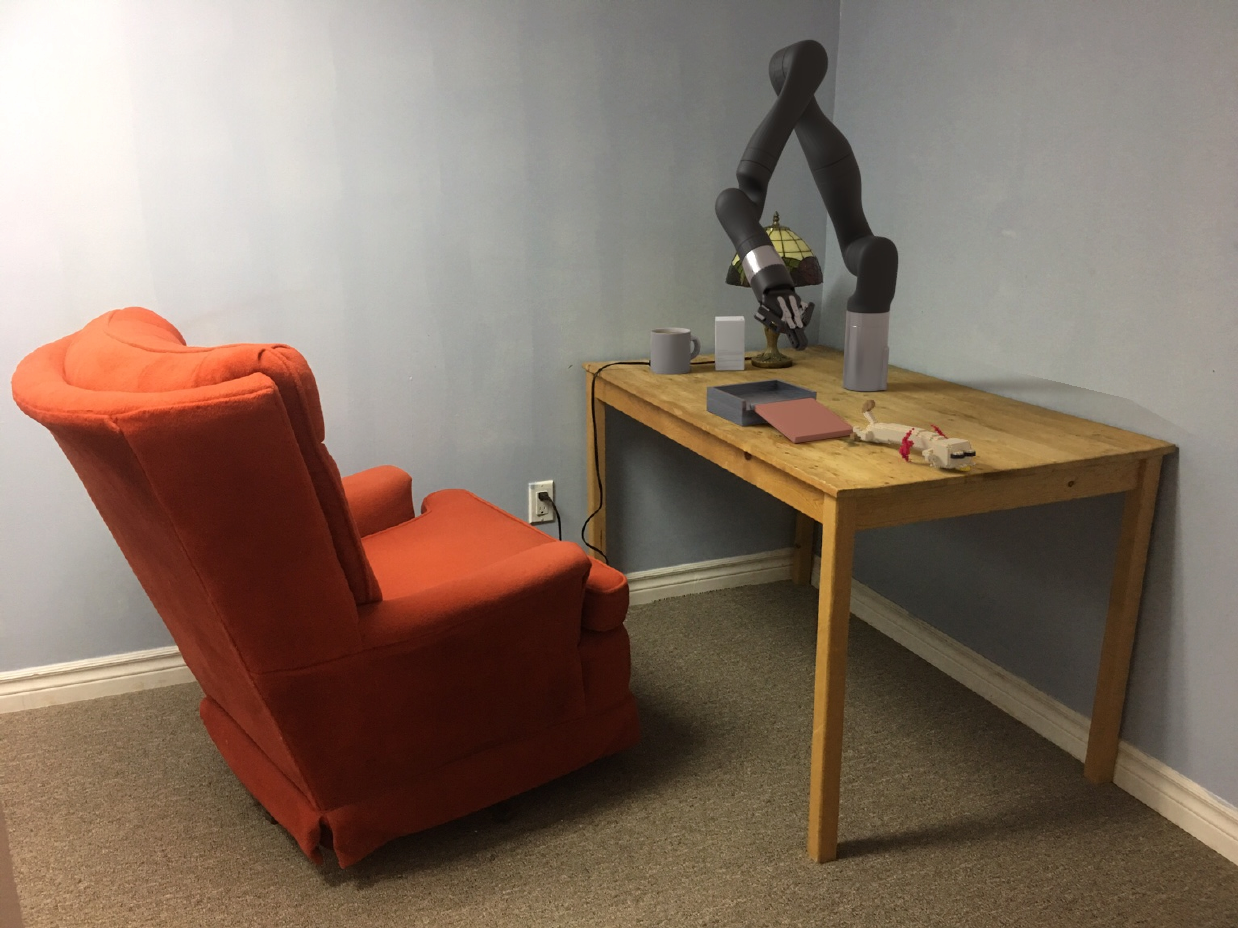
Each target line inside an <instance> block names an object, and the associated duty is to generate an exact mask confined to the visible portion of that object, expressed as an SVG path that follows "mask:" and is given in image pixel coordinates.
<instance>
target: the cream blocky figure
mask: <svg viewBox="0 0 1238 928" xmlns="http://www.w3.org/2000/svg"><path fill="white" fill-rule="evenodd" d="M862 404H863V405H862V407H861V412H862V413H863V415H864V417H865V419H867V421H868V422H869V424H868V425H867V426H866V428H865V429H863V428H861V426H858V425H856V426H852V427H853V433H852V434H850V435H849V438H850V439H851V440H852V441H854V442H860V441H863V442H873V443H877V444H879V443H886V444H889V445H891V444H897V445H901V446H900V447H899V449H898V454H899V455H900V456H901V459H904V460H905V462H912V460H909V455H911V448H914V450H917V451H921V456H924V461H925V462H927V463H930V465H929V467H933V468H942V469H943V468H944V469H955V470H957V471H963V472H966V471H970V470H971V467H973V465H974V466H975V465H976V462H974V461H972V458H973V457H976V455H977V451H976V450H975V449H974V448H972V444H971V442H970V441H969V439H968V440H967V439H962V438H957V437H950V438H948V437H947V436H946V434H944V433H943V431H942V430H941V429H940V428H939V427H938V426H936V425H934V424H930V427H931V428H933V429H934V432H932V431H927V430H926V429H925V428H921V427H915V426H910V425H906V424H905V425H904V424H899V423H893V422H892V423H885V422H878V420H877V418H876V416H875V415H874V413H873V412H872V411H873V409H875V407H876V401H875V400H874V399H870V398H869V399H866V401H865V402H864V403H862Z"/></svg>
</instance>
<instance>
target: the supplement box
mask: <svg viewBox="0 0 1238 928" xmlns="http://www.w3.org/2000/svg"><path fill="white" fill-rule="evenodd" d="M714 340H715V341H714V367H715V371H745V356H746V355H745V352H746V351H745V349H746V346H745V345H746V344H745V343H746V319H745V317H744V315H738V316H736V315H735V316H734V315H733V316H730V315H729V316H715V320H714Z"/></svg>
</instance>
